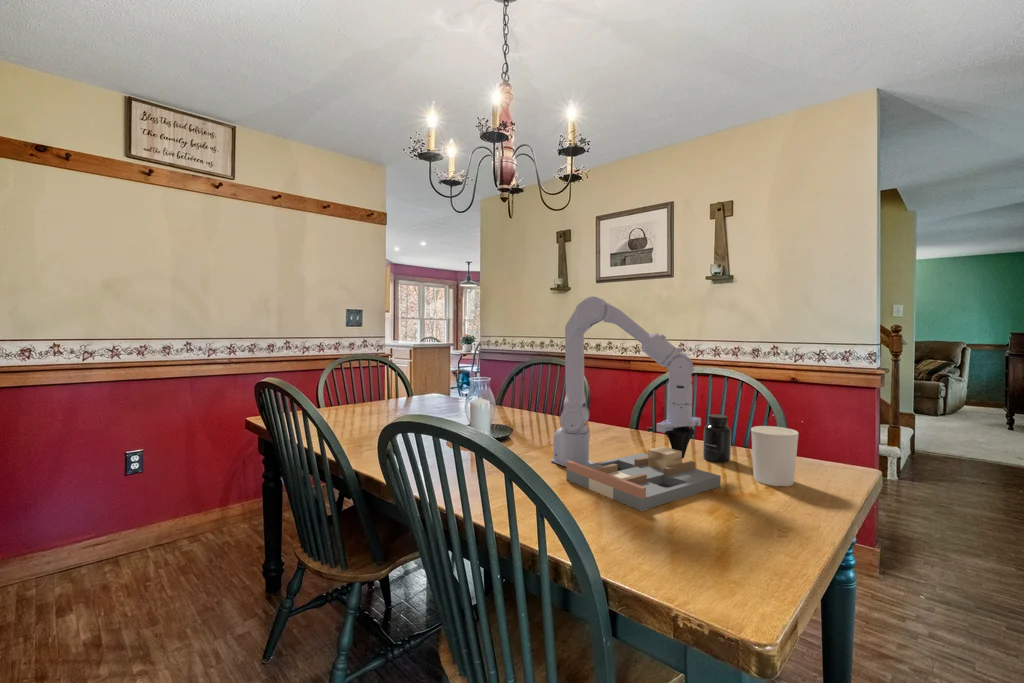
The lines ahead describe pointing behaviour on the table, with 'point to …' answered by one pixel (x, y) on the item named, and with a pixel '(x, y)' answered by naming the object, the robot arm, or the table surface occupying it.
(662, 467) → the maple block
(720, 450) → the supplement bottle
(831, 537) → the table surface
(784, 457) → the candle holder
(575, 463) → the board
